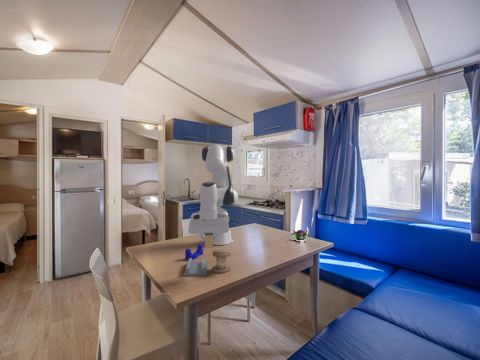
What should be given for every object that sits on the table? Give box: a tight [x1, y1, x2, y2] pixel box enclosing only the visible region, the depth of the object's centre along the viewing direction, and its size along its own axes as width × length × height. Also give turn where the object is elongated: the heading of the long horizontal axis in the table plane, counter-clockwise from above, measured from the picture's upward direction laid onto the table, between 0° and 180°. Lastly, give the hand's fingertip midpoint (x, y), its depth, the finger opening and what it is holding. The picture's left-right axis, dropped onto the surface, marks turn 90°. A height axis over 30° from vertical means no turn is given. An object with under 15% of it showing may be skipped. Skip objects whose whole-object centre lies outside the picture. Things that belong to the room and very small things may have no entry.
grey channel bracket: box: [183, 257, 208, 277], centre depth 120 cm, size 16×11×4 cm
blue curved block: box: [184, 243, 204, 261], centre depth 138 cm, size 12×4×6 cm, turn 147°
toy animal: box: [290, 229, 311, 240], centre depth 171 cm, size 11×15×10 cm
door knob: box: [212, 249, 231, 274], centre depth 119 cm, size 9×9×9 cm
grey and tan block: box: [204, 233, 214, 249], centre depth 115 cm, size 4×4×7 cm
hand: (208, 241), depth 115 cm, fingers closed on grey and tan block, 4 cm apart
